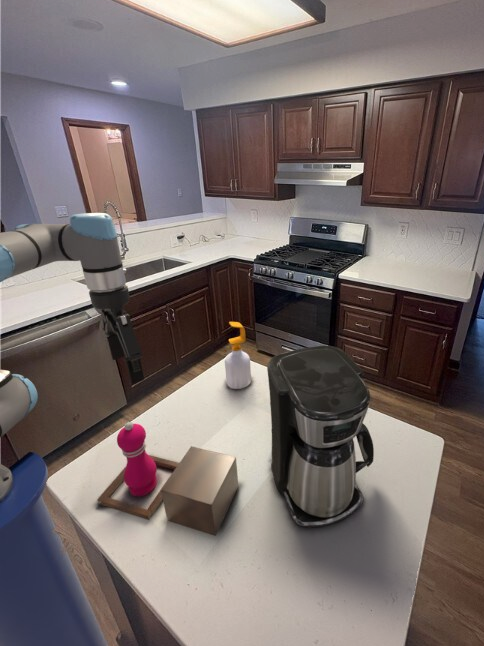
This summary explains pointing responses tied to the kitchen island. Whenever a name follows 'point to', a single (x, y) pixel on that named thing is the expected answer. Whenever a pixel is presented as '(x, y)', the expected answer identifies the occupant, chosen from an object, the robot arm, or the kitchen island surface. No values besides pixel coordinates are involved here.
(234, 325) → the soap bottle
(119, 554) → the kitchen island surface
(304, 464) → the coffee maker
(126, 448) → the pepper mill
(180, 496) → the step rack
